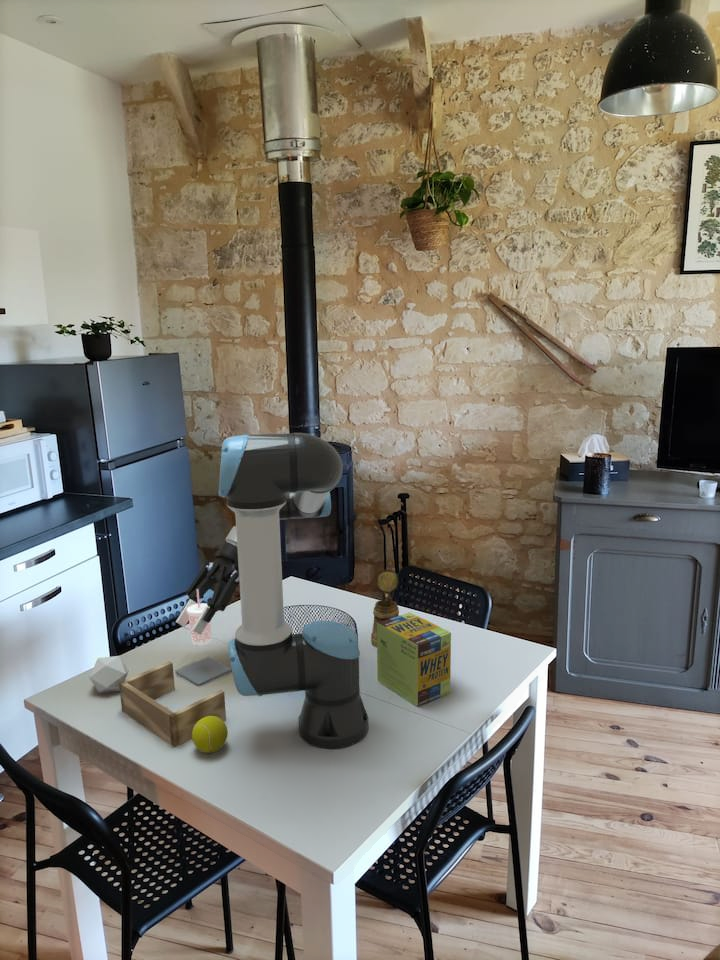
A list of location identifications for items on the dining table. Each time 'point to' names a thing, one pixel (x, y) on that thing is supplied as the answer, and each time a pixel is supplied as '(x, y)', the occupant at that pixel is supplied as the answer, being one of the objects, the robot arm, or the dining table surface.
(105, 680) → the die
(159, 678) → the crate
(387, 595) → the gold trophy
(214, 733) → the tennis ball
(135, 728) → the dining table surface
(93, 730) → the dining table surface
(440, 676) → the protein box
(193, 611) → the beverage cup
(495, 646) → the dining table surface
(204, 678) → the coaster
